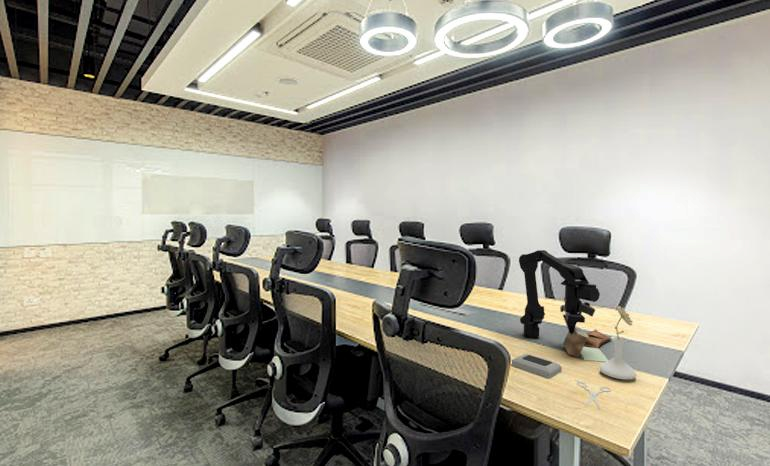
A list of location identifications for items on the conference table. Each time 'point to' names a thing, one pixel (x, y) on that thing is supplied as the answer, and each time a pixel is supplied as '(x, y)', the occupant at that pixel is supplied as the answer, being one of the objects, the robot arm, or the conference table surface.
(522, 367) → the grey flat block
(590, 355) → the mat
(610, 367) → the flower in vase
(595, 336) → the sunglasses case
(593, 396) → the scissors
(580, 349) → the walnut block
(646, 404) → the conference table surface
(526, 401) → the conference table surface
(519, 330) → the conference table surface
